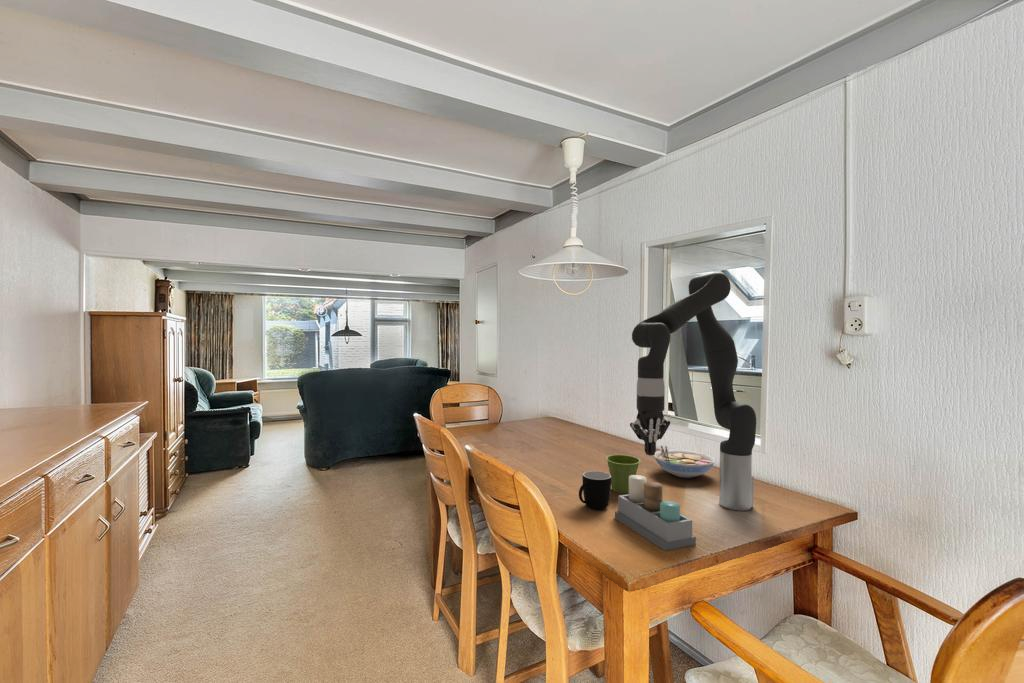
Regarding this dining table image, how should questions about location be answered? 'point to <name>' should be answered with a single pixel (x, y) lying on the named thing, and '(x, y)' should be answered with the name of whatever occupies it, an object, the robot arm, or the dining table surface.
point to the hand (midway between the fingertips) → (650, 454)
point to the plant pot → (622, 471)
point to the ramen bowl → (684, 462)
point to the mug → (596, 489)
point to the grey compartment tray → (655, 525)
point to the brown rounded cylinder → (652, 496)
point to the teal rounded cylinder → (670, 511)
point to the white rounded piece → (636, 488)
